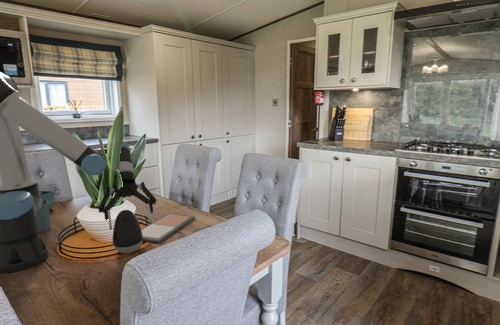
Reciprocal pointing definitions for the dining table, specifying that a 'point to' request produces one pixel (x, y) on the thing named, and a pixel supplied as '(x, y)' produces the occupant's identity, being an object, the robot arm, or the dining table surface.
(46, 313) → the dining table surface
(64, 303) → the dining table surface
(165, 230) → the board
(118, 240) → the black rounded piece
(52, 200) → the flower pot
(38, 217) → the teal cup
